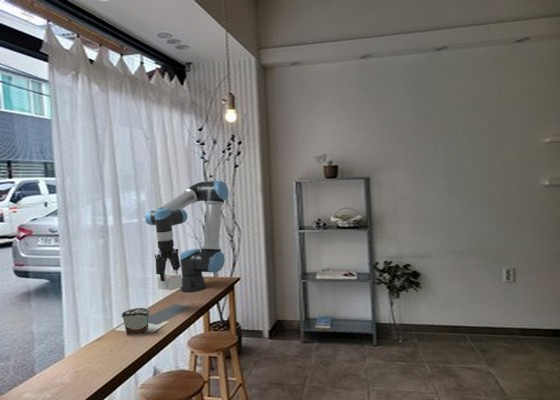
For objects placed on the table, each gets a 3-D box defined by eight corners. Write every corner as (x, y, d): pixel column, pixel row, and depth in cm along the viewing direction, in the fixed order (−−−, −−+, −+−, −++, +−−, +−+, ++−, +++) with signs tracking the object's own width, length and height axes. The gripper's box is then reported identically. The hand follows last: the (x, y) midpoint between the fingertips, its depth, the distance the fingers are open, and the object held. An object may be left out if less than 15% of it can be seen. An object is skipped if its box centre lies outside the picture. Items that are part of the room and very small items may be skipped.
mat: (174, 304, 207) (174, 304, 207) (193, 307, 200) (193, 306, 200) (138, 321, 186) (137, 320, 186) (157, 325, 180) (157, 324, 179)
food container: (156, 328, 176) (153, 306, 175) (150, 334, 170) (148, 311, 169) (130, 329, 177) (127, 307, 177) (123, 335, 171) (121, 313, 170)
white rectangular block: (158, 288, 196) (157, 276, 195) (168, 284, 201) (166, 273, 201) (172, 290, 190) (171, 278, 190) (182, 286, 196) (181, 274, 195)
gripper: (174, 235, 204) (178, 278, 206) (144, 243, 187) (149, 290, 189) (184, 236, 200) (189, 279, 202) (155, 244, 183) (160, 291, 185)
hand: (170, 284), depth 196 cm, fingers closed on white rectangular block, 6 cm apart
